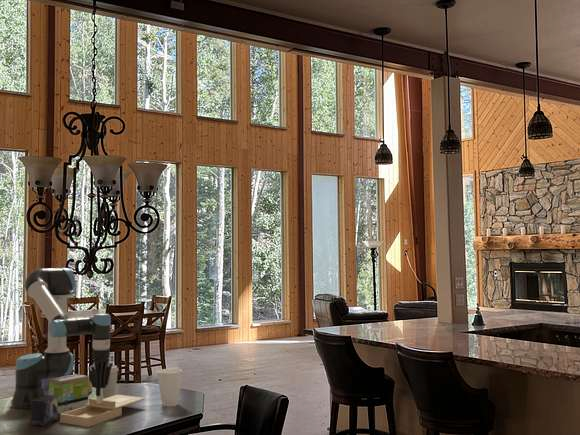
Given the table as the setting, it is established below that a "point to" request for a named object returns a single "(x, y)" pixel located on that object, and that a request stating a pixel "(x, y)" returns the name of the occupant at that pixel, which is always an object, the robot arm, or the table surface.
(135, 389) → the table surface
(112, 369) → the coffee cup
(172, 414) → the table surface
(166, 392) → the cup
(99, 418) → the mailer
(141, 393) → the table surface
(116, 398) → the lid
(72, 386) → the tea box
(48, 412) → the small box
